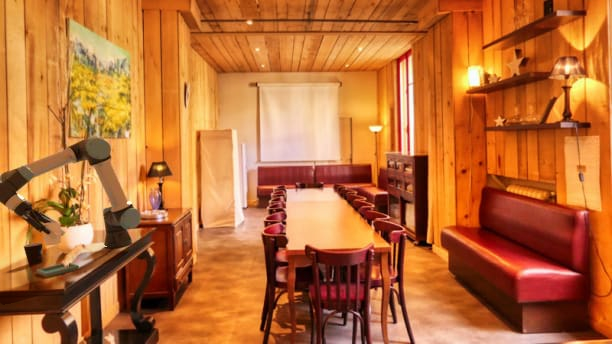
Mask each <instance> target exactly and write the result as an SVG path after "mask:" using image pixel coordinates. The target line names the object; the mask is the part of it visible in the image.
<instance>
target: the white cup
mask: <svg viewBox="0 0 612 344" xmlns="http://www.w3.org/2000/svg"><path fill="white" fill-rule="evenodd" d="M43 225H44V226H45V228H46V227H48V228H50V229H51V230H52V231H54V232H55V233H57V234H58V236H57V238H56V239H55V240H54V239H52V238H51V237H50V236H48V235H47V234H46V233H44V232H43V231H42V232H41V233H42V236H43V240H44V245H45V246H55V245H59V244H61V243H62V236H61V228H62V227H61V221H56V222H49V223H43Z"/></svg>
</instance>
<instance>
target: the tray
mask: <svg viewBox="0 0 612 344" xmlns="http://www.w3.org/2000/svg"><path fill="white" fill-rule="evenodd" d="M63 263H64V262H63ZM63 263H59V264H53V265H51V266H47V267H42V268H39V269H36V271H37V275H39V276H42V277H44V278H48V279H49V278H51V277H55V276H56V277H57V276H60V275H63V274H67V273H71V272H74V271H79V270H80V268H79V267H80V266H79V264H76V263H73V262H70V263H69V267H62V266H63Z"/></svg>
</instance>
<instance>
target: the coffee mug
mask: <svg viewBox="0 0 612 344" xmlns="http://www.w3.org/2000/svg"><path fill="white" fill-rule="evenodd" d="M23 248H24V249H23V250H24V253H25V256H26V259H27V263H28V265H29V266H33V265H38V264H42V263H43V262H44V261H43V260H44V259H43V258H44V257H43V254H44V253H43V242H34V243H28V244H26V245H23Z"/></svg>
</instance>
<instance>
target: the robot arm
mask: <svg viewBox="0 0 612 344" xmlns="http://www.w3.org/2000/svg"><path fill="white" fill-rule="evenodd" d="M111 151H112V148H111V144H110V143H109V141H108V140H107V139H105V138H103V137H98V136H97V137H89V138H85V139H81V140H79V141H78V142H75V143H73V144H71V145H69V146H66V147H65V149H64V150H62V151H59V152H56V153H54V154H51V155H47V156H46V157H42V158H40V159H38V160H35V161H32V162H30V163H28V164H25V165H21V166H19V167H17V168H14V169H12V170H9V171H8V170H7V171H4V172H2V173H1V174H0V204H2V205H3V206H5V207H6V208H7V210H10V211H11V212H13V213H14V214H15V215H17V216H18V217H20V218H21V219H22V220H24V221H25V222H27V224H29V225H30V226H32V228H34V229H35V230H36V231H37V232H39V233H43V232H44V233H46V234H47V235H48V236H50V237H51V238H52V239H54V240H55V239H56V238H57V236H58V234H57V233H55V232H54V231H52V230H51V229H50V228H48V227H46V228H45V226H44V225H43V224H44V223H49V222H57V221H56V220H54V219H53V218H51V217H50V216H48V215H47V214H45V213H44V212H42V211H41V210H40V209H37V210H36V209H34V208H33V204H32V203H31V202H30V201H29V200H28V199H27V200H26V199H25V197H23V196H22V195H20V194H19V193H17V192H19V190H21V189H22V188H23V187H24V186H25V185H27V184H28V183H29V182H31V181H32V179H34V178H37V177H40V176H42V175H44V174H46V173H49V172H52V171H54V170H57V169H59V168H63V167H64V166H67V165H70V164H77V163H80V162H84V161H87V162H88V165H89V166H90V167H92V168H94V169H95V172H96V174H97V176H98V179H99V181H100V184H101V185H102V188H103V189H104V192H105V194H106V196H107V198H108V201H109V202H110V205H111V206H110V207H105V208H103V209H102V216H103V221H104V227H105V229H104V230H105V237H104V242H103V243H104V244H103V246H104V245H105V246H107V247H109V248H108V249H115V248H116V249H117V248H120V247H121V248H123V247H126V246H129V245H132V243H133V239H132V237H131V235H130V233H129V232H128V230H131V229H132V230H133V229H135V228H136V227H138V226H139V224H140V222H141V219H142V215H141V212H140V211H139V210H138V209H137V208H135V207H134V205H133V203H132V201H129V200H128V199H127V196H126V194H125V192H124V190H123V187H122V186H121V183H120V181H119V178H118V176H117V174H116V172H115V170H114V167H113V165H112V163H111V161H112V155H111ZM42 231H43V232H42ZM66 233H67V231H66V230H65V229H63V228H62V227H61V237H63V236H64V235H65V234H66Z"/></svg>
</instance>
